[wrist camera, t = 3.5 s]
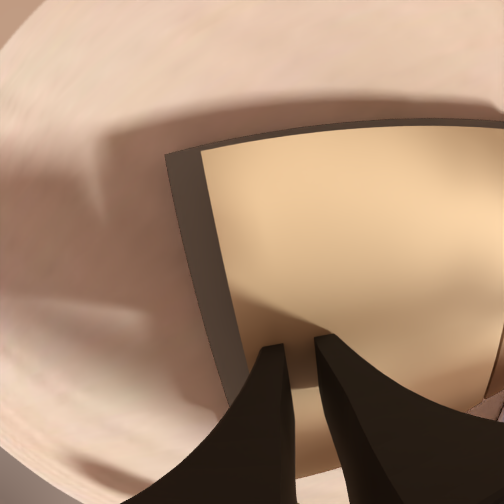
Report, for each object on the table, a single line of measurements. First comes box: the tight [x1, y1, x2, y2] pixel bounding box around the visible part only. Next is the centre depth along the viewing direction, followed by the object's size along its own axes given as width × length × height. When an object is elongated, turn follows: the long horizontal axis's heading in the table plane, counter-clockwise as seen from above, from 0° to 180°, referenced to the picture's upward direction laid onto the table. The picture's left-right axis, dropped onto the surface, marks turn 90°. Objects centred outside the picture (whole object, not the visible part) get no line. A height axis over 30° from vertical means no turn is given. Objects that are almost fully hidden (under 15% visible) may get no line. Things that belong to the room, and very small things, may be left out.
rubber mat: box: [165, 118, 504, 407], centre depth 11 cm, size 14×18×1 cm
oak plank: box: [201, 126, 504, 479], centre depth 9 cm, size 13×11×2 cm
